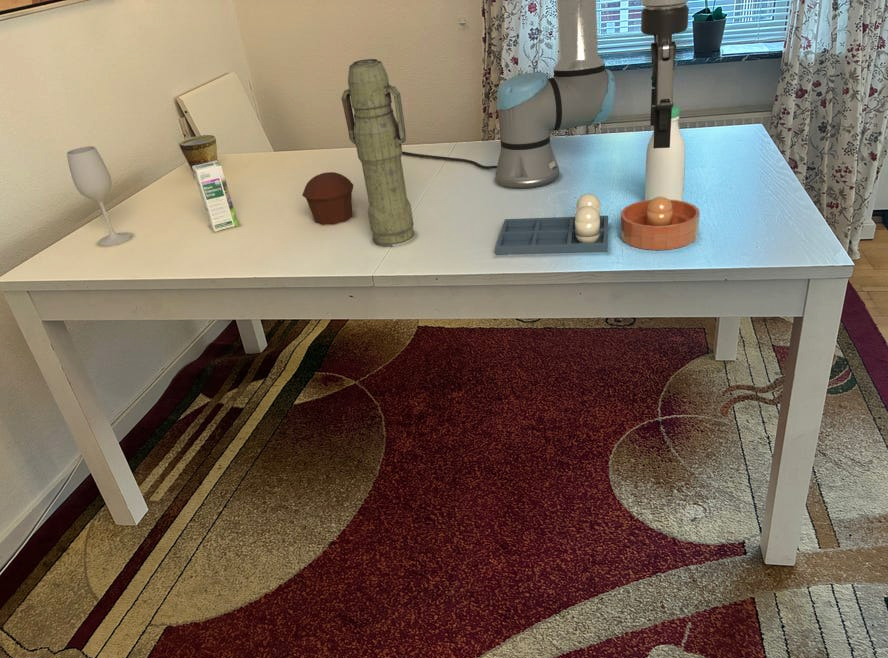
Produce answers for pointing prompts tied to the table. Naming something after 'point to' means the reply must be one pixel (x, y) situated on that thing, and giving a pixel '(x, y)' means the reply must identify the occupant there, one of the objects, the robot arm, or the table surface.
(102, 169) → the wineglass
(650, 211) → the brown egg
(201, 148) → the ceramic cup
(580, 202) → the cream egg
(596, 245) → the egg tray
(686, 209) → the bowl
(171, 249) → the table surface
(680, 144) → the milk bottle
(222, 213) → the syrup box
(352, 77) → the thermos
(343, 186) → the muffin
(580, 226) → the cream egg
